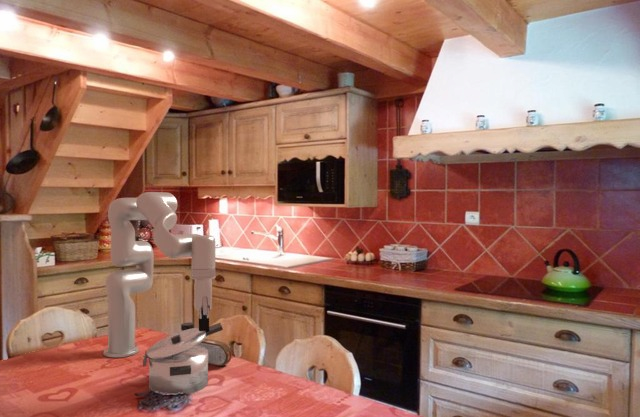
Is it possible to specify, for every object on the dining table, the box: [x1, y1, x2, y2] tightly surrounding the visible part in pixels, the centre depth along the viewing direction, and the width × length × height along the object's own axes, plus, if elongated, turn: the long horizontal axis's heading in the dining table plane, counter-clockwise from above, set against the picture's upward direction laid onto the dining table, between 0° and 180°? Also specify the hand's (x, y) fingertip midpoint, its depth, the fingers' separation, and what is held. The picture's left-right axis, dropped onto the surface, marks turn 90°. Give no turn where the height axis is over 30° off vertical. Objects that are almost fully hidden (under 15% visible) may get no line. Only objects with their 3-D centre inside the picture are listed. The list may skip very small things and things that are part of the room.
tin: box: [197, 338, 232, 367], centre depth 168 cm, size 15×3×8 cm, turn 64°
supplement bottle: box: [180, 321, 195, 331], centre depth 176 cm, size 7×7×12 cm
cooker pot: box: [142, 345, 209, 395], centre depth 148 cm, size 24×20×10 cm
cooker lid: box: [144, 322, 224, 360], centre depth 149 cm, size 19×25×3 cm
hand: (203, 330), depth 150 cm, fingers closed
